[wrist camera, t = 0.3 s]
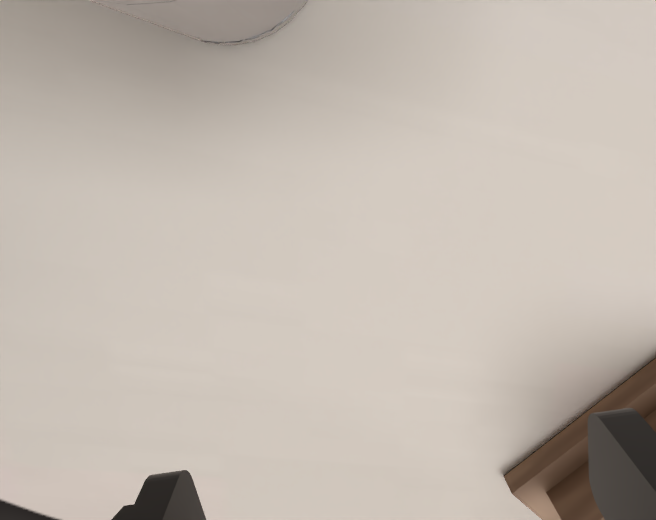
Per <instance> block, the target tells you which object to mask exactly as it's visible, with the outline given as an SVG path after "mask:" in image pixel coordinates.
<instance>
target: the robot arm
mask: <svg viewBox="0 0 656 520" xmlns="http://www.w3.org/2000/svg"><path fill="white" fill-rule="evenodd" d="M90 1H92V2H95V3H98V4H101V5H103V6H106V7H109V8H112V9H114V10H117V11H120V12H123V13H125V14H128V15H131V16H134V17H137V18H139V19H142V20H145V21H148V22H150V23H153V24H156V25H159V26H161V27H164V28H167V29H170V30H172V31H175V32H178V33H181V34H183V35H186V36H189V37H192V38H195V39H199V40H200V41H202V42H208V43H213V44H227V45H238V44H243V43H248V42H254V41H257V40H259V39H262V38H264V37H266V36H268V35H271V34H273V33H275V32H276V31H278V30H279V29H280V28H282V27H283V26H284V25H286V24H287V23H288V22H290V21H291V20H292V19H293V18H294V16H295V15H296V14H297V13H298V12H299V11H300V10H301V8H302V7H303V6H304V5H305V4H306V2H307V0H90ZM588 463H589V481H590V486H591V490H592V493H593V496H594V499H595V502H596V504H597V506H598V508H599V510H600V512H601V514H602V515H603V517H604V519H605V520H656V432H655V431H654V430H653V429H652V428H651V426H650V425H649V424H648V423H647V422H646V421H645V420H644V419H643V417H642V416H641V415H640V414H639V413H638V412H637V411H636V410H635V409H633V408H625V409H618V410H611V411H604V412H597V413H591V414H590V415H589V417H588ZM112 520H206V518H205V515H204V512H203V509H202V506H201V503H200V500H199V497H198V494H197V491H196V488H195V485H194V482H193V479H192V477H191V475H190V473H189V472H188V471H187V470H183V471H176V472H169V473H162V474H155V475H150V476H149V477H148V478H147V479H146V480H145V482H144V484H143V487H142V489H141V491H140V493H139V495H138V497H137V500H136V502H135V504H134V505H127V506H124V507H123V508H122V509H121V510H120V511H119V512H118V513H117V514H116V515H115V516H114V517H113V519H112Z"/></svg>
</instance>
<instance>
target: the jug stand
mask: <svg viewBox="0 0 656 520" xmlns="http://www.w3.org/2000/svg"><path fill="white" fill-rule="evenodd" d="M625 408H633V409H635V410H636V411H637V412H638V413H639V414H640V415H641V416H642V417H643V419H644V420H645V421H646V422H647V423H648V424H649V425H650V426H651V428H652V429H653V430H654V431H655V432H656V358H655V359H654V360H652V361H651V362H650V363H649V364H647V365H646V366H645V367H643V368H642V369H641V370H640V371H638V372H637V373H636V374H634V375H633V376H632V377H631V378H629V379H628V380H627V381H625V382H624V383H623V384H622V385H620V386H619V387H618V388H616V389H615V390H614V391H613V392H611V393H610V394H609V395H607V396H606V397H605V398H604V399H602V400H601V401H600V402H599V403H597V404H596V405H595V406H593V407H592V408H591V409H590V410H588V411H587V412H586V413H584V414H583V415H582V416H581V417H579V418H578V419H577V420H575V421H574V422H573V423H572V424H570V425H569V426H568V427H566V428H565V429H564V430H563V431H561V432H560V433H559V434H557V435H556V436H555V437H554V438H552V439H551V440H550V441H548V442H547V443H546V444H545V445H543V446H542V447H541V448H539V449H538V450H537V451H536V452H534V453H533V454H532V455H530V456H529V457H528V458H527V459H525V460H524V461H523V462H521V463H520V464H519V465H518V466H516V467H515V468H514V469H512V470H511V471H510V472H509V473H507V474H506V475H505V476H504V478H505V480H506V482H507V484H508V486H509V488H510V490H511V493H512V494H513V495H514V496H515V497H517V498H518V499H519V500H520V501H521V502H522V503H524V504H525V505H526V506H527V507H528V508H529V509H531V510H532V511H533V512H534V513H535V514H536V515H537V516H539V517H540V518H541V519H542V520H605V519H604V517H603V515H602V514H601V512H600V510H599V508H598V506H597V504H596V502H595V499H594V496H593V493H592V490H591V486H590V481H589V463H588V417H589V415H590V414H591V413H597V412H604V411H611V410H618V409H625Z"/></svg>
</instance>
